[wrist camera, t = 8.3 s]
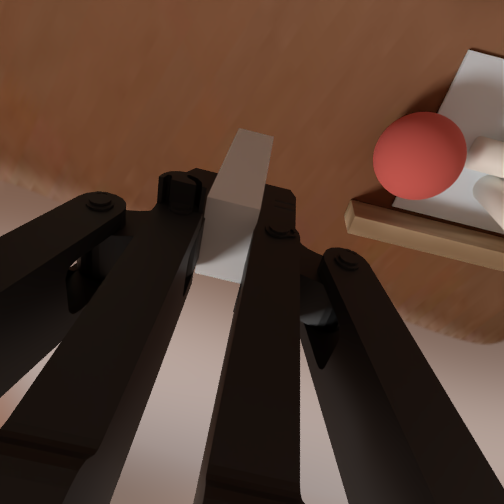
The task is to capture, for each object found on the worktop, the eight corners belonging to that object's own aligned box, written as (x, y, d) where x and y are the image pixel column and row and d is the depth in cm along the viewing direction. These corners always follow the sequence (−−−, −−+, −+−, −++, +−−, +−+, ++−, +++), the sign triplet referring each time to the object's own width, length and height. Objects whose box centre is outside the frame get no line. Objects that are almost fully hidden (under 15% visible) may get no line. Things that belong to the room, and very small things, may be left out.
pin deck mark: (468, 49, 25) (469, 49, 25) (608, 86, 25) (610, 87, 25) (391, 205, 32) (392, 206, 31) (503, 233, 32) (504, 234, 32)
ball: (484, 120, 26) (401, 91, 27) (490, 146, 21) (390, 109, 23) (438, 192, 30) (367, 164, 31) (434, 227, 25) (352, 192, 26)
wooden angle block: (440, -19, 23) (457, -21, 21) (710, 55, 24) (759, 61, 21) (340, 224, 33) (343, 242, 31) (530, 272, 34) (549, 293, 31)
